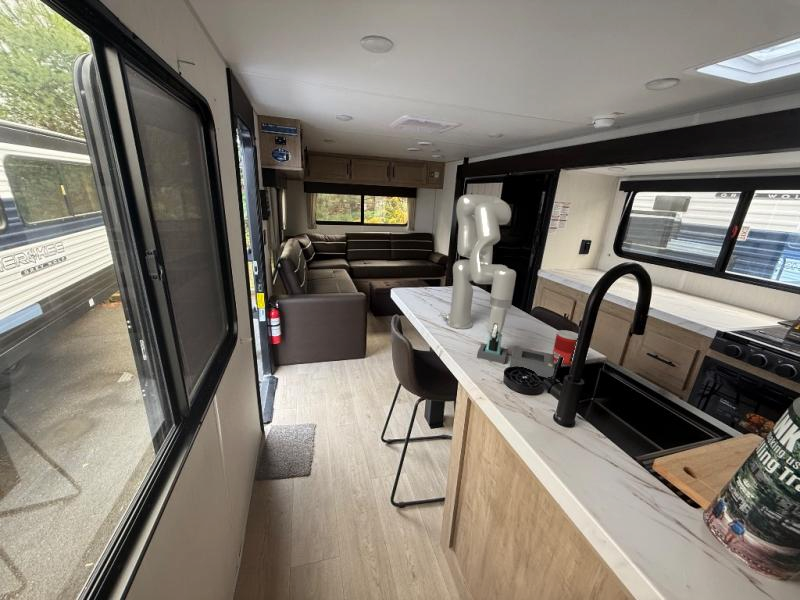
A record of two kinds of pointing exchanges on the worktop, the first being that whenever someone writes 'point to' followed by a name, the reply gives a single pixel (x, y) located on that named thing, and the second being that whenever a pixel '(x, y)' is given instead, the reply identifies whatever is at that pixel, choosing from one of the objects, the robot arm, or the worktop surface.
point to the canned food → (565, 345)
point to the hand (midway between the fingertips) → (493, 347)
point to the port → (533, 361)
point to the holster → (492, 354)
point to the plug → (498, 345)
